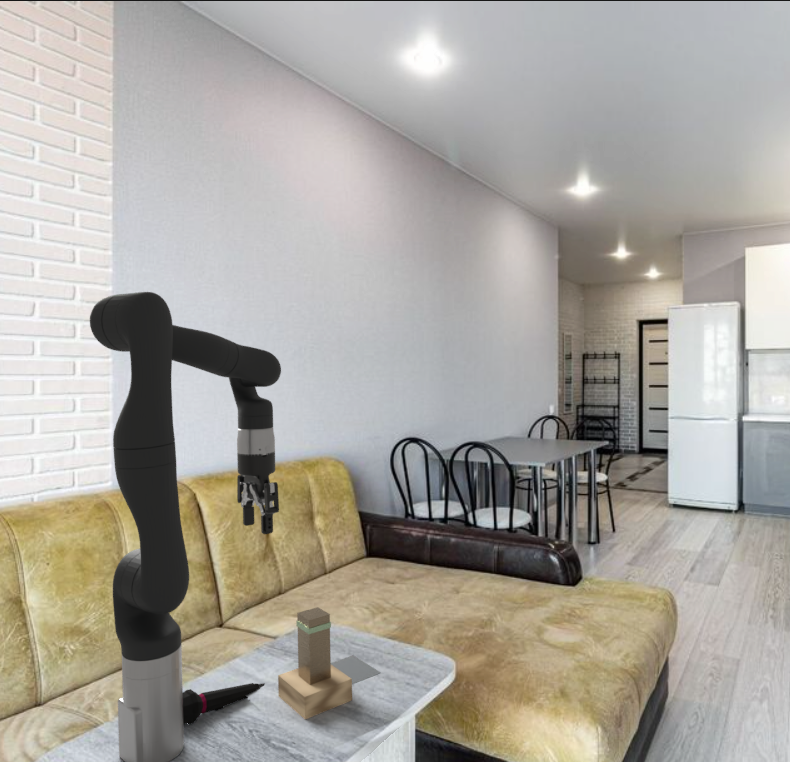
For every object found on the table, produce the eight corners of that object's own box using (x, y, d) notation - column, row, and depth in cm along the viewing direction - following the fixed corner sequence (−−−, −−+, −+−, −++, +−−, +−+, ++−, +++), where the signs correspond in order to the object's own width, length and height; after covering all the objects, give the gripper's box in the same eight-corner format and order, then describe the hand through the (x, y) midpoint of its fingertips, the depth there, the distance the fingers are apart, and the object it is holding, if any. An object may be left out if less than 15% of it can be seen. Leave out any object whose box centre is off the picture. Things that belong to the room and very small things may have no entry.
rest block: (305, 724, 111) (304, 696, 111) (278, 701, 119) (278, 675, 119) (352, 705, 117) (351, 678, 117) (324, 684, 125) (323, 659, 125)
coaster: (339, 694, 121) (339, 688, 121) (312, 674, 129) (312, 669, 129) (381, 677, 127) (380, 672, 127) (353, 659, 135) (353, 655, 135)
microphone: (264, 699, 125) (167, 727, 112) (262, 668, 127) (166, 692, 113) (279, 701, 122) (181, 730, 108) (277, 669, 123) (180, 694, 110)
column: (309, 685, 114) (308, 620, 114) (297, 675, 118) (296, 612, 118) (331, 677, 117) (330, 614, 117) (319, 668, 121) (317, 606, 121)
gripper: (224, 448, 131) (226, 525, 132) (254, 455, 120) (256, 540, 120) (257, 445, 136) (259, 519, 136) (289, 451, 125) (291, 533, 125)
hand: (257, 529), depth 128 cm, fingers open, 8 cm apart
